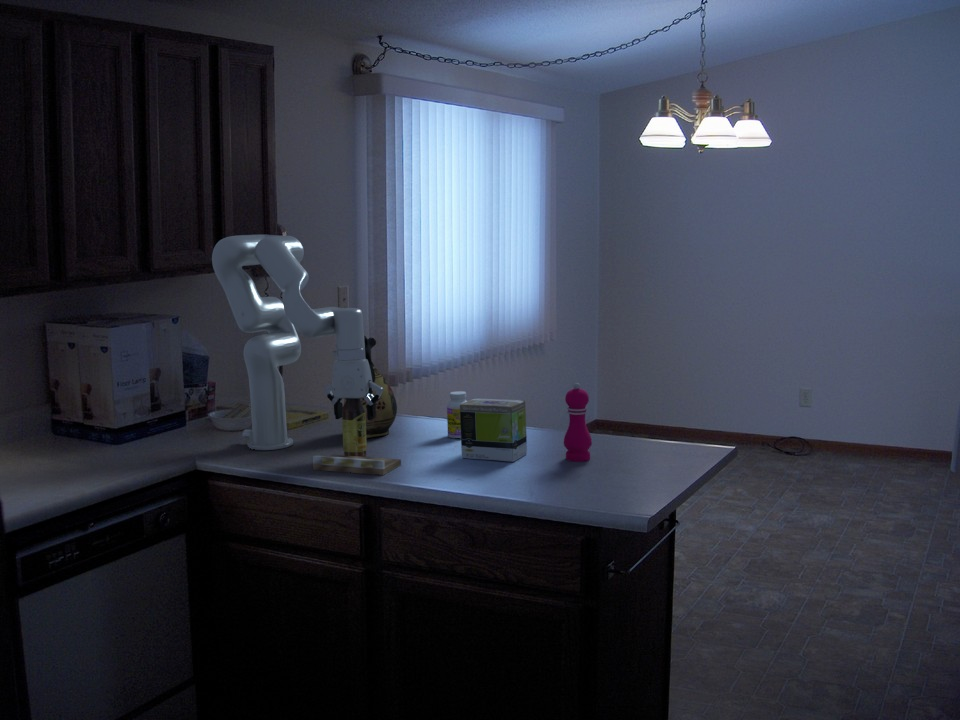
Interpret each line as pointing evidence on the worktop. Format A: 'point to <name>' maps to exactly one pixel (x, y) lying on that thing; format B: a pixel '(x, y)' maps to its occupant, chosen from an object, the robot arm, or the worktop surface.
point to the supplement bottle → (455, 413)
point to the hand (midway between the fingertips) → (355, 418)
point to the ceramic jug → (385, 404)
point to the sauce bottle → (354, 428)
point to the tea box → (493, 429)
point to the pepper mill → (577, 426)
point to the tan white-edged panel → (355, 464)
